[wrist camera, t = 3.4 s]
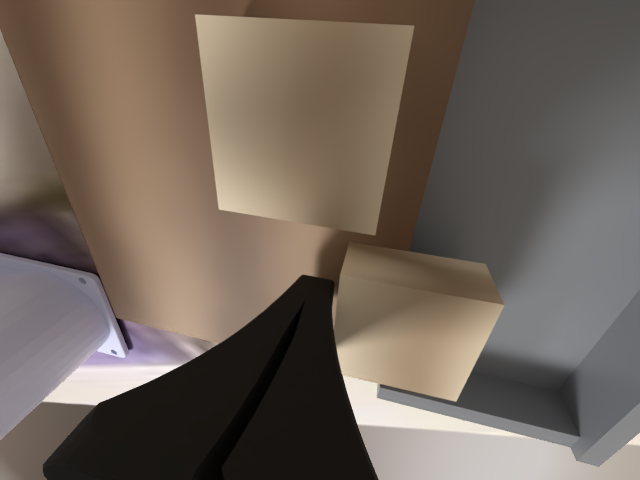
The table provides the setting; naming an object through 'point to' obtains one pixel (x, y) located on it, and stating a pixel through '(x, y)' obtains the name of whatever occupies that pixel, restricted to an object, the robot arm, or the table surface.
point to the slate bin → (545, 218)
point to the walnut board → (202, 150)
